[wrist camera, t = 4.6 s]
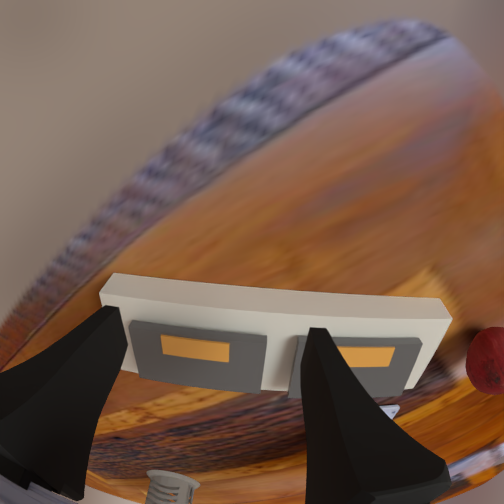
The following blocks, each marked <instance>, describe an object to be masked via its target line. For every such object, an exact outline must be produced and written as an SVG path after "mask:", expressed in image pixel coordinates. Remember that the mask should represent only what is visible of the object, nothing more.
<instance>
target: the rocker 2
mask: <svg viewBox="0 0 504 504" xmlns="http://www.w3.org/2000/svg"><path fill="white" fill-rule="evenodd" d="M332 339H333V341H334V342H335V344H336V346H337V348H338V349H339V351H340V353H341V354H342V356H343V358H344V359H345V361H346V362H347V364H348V365H349V367H350V368H351V370H352V371H353V373H354V375H355V376H356V377H357V379H358V380H359V382H360V383H361V384H362V386H363V387H364V388H365V390H366V391H367V392H368V394H369V395H370V396H371V397H388V396H401V394H402V392H403V390H404V388H405V386H406V383H407V381H408V379H409V377H410V374H411V372H412V370H413V367H414V365H415V362H416V360H417V357H418V355H419V352H420V350H421V347H422V345H423V343H422V342H421V340H420V339H419V338H350V337H332ZM306 340H307V336H300V335H298V338H297V344H296V349H295V355H294V360H293V365H292V371H291V376H290V381H289V386H288V398H302V397H301V389H300V364H301V360H302V356H303V352H304V348H305V344H306Z"/></svg>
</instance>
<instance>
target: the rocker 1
mask: <svg viewBox="0 0 504 504" xmlns="http://www.w3.org/2000/svg"><path fill="white" fill-rule="evenodd" d="M128 329H129V333H130V338H131V343H132V347H133V352H134V356H135V360H136V364H137V369H138V373H139V377H140V378H145V379H150V380H155V381H161V382H167V383H173V384H179V385H185V386H192V387H199V388H207V389H215V390H224V391H234V392H245V393H257V394H260V391H261V384H262V377H263V370H264V363H265V355H266V348H267V335H255V334H243V333H232V332H222V331H213V330H204V329H195V328H187V327H179V326H172V325H164V324H157V323H151V322H144V321H137V320H132V321H131V323H130V325H129V326H128Z"/></svg>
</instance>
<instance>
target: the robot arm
mask: <svg viewBox="0 0 504 504" xmlns="http://www.w3.org/2000/svg"><path fill="white" fill-rule="evenodd" d="M127 347H128V342H127V338H126V334H125V330H124V326H123V322H122V318H121V313H120V309H119V307H115V306H109V305H105V306H103V307H102V308H101V309H99V310H98V311H97V312H95V313H94V314H93V315H91V316H90V317H89V318H87V319H86V320H85V321H84V322H82V323H81V324H80V325H78V326H77V327H76V328H74V329H73V330H72V331H71V332H69V333H68V334H67V335H65V336H64V337H62V338H61V339H60V340H58V341H57V342H55V343H54V344H53V345H51V346H50V347H48V348H47V349H45V350H44V351H42V352H41V353H39V354H37V355H36V356H34V357H32V358H30V359H29V360H27V361H25V362H23V363H21V364H19V365H17V366H15V367H13V368H11V369H9V370H6V371H4V372H2V373H0V504H78V503H75V502H73V501H70V500H68V499H66V498H64V497H61V496H59V495H57V494H61V495H63V496H65V497H68V498H70V499H72V500H75V501H79V500H82V499H83V498H84V488H85V479H86V472H87V466H88V460H89V454H90V450H91V446H92V441H93V437H94V433H95V430H96V426H97V423H98V419H99V416H100V414H101V411H102V409H103V406H104V404H105V402H106V400H107V397H108V395H109V393H110V391H111V389H112V386H113V384H114V382H115V380H116V378H117V375H118V373H119V371H120V369H121V367H122V364H123V360H124V357H125V354H126V351H127ZM300 389H301V397H302V405H303V414H304V422H305V430H306V440H307V478H306V498H305V504H430V501H432V500H434V499H435V498H437V497H438V496H440V495H441V494H443V493H444V492H445V491H447V490H448V489H449V488H450V486H451V485H452V483H451V479H450V475H449V471H448V468H447V465H446V462H445V460H444V459H442V458H440V457H439V456H437V455H436V454H434V453H433V452H431V451H430V450H428V449H427V448H425V447H424V446H422V445H421V444H420V443H418V442H417V441H416V440H414V439H413V438H412V437H411V436H409V435H408V434H407V433H406V432H405V431H404V430H403V429H402V428H400V427H399V426H398V425H397V424H396V423H395V422H394V421H393V420H392V419H393V417H394V416H395V414H396V413H397V412H398V410H399V405H387V406H379V405H378V404H377V403H376V402H375V401H374V400H373V399H372V397H371V396H370V395H369V394H368V392H367V391H366V390H365V388H364V387H363V386H362V384H361V383H360V382H359V380H358V379H357V377H356V376H355V375H354V373H353V371H352V370H351V368H350V367H349V365H348V364H347V362H346V361H345V359H344V358H343V356H342V354H341V353H340V351H339V349H338V348H337V346H336V344H335V342H334V341H333V339H332V337H331V335H330V333H329V331H328V330H327V329H326V328H315V327H310V328H309V332H308V336H307V340H306V344H305V348H304V352H303V356H302V360H301V364H300ZM51 491H53V492H55V493H57V494H55V493H53V492H51Z"/></svg>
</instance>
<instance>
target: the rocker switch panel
mask: <svg viewBox="0 0 504 504" xmlns="http://www.w3.org/2000/svg"><path fill="white" fill-rule="evenodd" d="M99 295H100V299H101V303H102V307H103V306H105V305H109V306H115V307H119V309H120V313H121V318H122V322H123V326H124V330H125V334H126V338H127V342H128V347H127V351H126V354H125V357H124V360H123V364H122V367H121V370H126V371H131V372H135V373H138V369H137V364H136V360H135V356H134V352H133V347H132V343H131V338H130V333H129V329H128V326H129V325H130V323H131V321H132V320H137V321H144V322H151V323H157V324H164V325H172V326H179V327H187V328H195V329H204V330H213V331H222V332H232V333H243V334H255V335H267V348H266V355H265V363H264V370H263V377H262V384H261V390H277V391H288V386H289V381H290V376H291V371H292V365H293V360H294V355H295V349H296V344H297V338H298V335H300V336H308V332H309V328H310V327H315V328H326V329H327V330H328V331H329V333H330V335H331V337H350V338H419V339H420V340H421V342H422V343H423V345H422V347H421V350H420V352H419V355H418V357H417V360H416V362H415V365H414V367H413V370H412V372H411V374H410V377H409V379H408V381H407V383H406V386H405V388H404V389H411V388H414V386H415V385H416V383H417V381H418V380H419V378H420V377H421V375H422V373H423V372H424V370H425V368H426V367H427V365H428V363H429V362H430V360H431V358H432V356H433V355H434V353H435V351H436V349H437V348H438V346H439V344H440V342H441V340H442V338H443V337H444V335H445V333H446V331H447V329H448V327H449V325H450V323H451V321H452V317H451V316H450V314H449V312H448V311H447V309H446V308H445V306H444V305H443V303H442V301H441V300H440V298H419V297H395V296H375V295H356V294H339V293H324V292H309V291H295V290H282V289H269V288H257V287H245V286H234V285H223V284H212V283H202V282H192V281H182V280H173V279H163V278H154V277H145V276H137V275H128V274H120V273H113V274H112V276H111V277H110V278H109V280H108V281H107V282H106V284H105V285H104V287H103V288H102V289H101V291H100V292H99Z"/></svg>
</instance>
